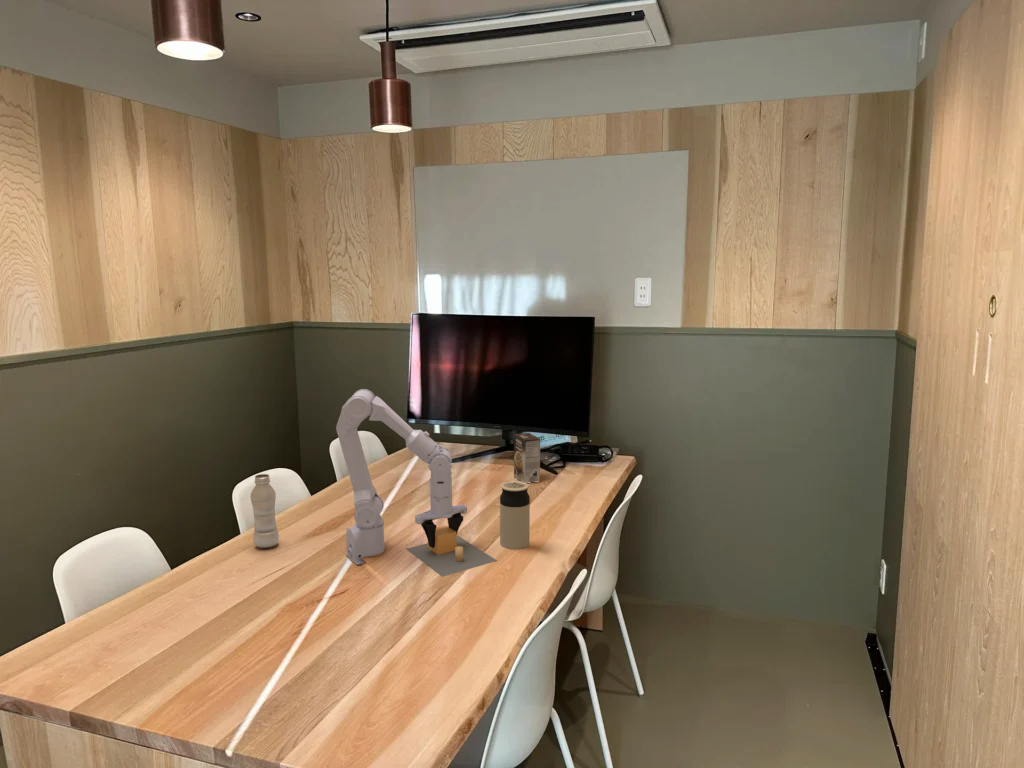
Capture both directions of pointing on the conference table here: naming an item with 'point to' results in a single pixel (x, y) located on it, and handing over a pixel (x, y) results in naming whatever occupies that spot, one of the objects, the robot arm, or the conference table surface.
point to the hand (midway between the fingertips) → (442, 543)
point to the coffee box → (526, 457)
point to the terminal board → (452, 557)
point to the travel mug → (514, 515)
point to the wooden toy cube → (444, 540)
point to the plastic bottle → (264, 512)
